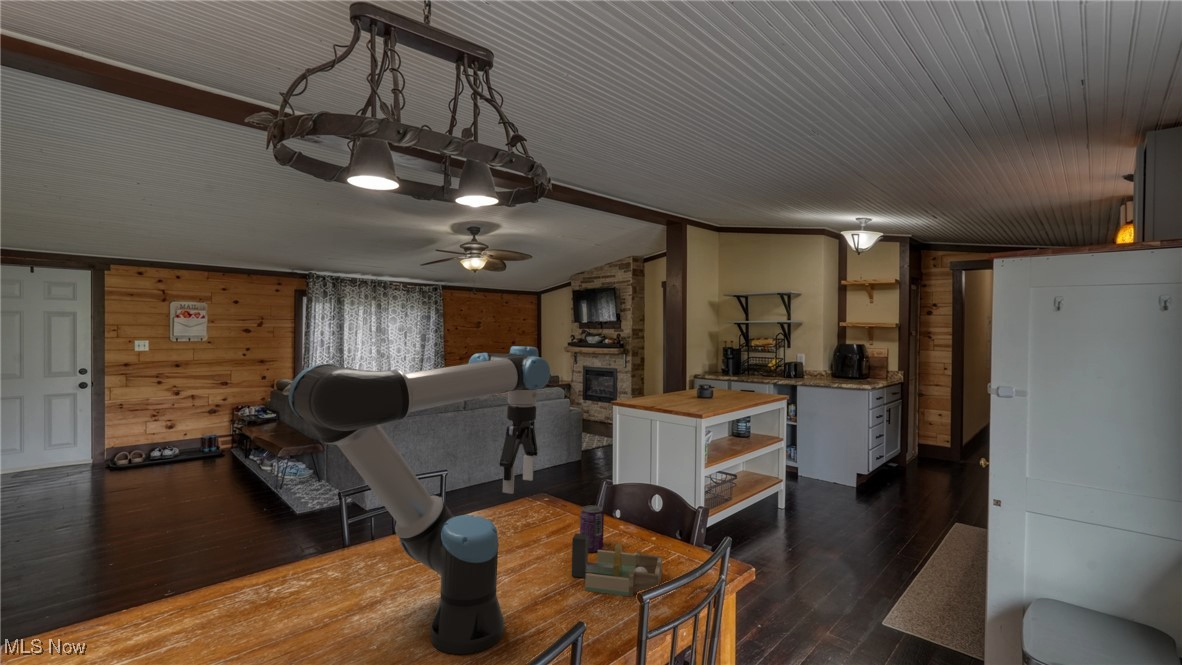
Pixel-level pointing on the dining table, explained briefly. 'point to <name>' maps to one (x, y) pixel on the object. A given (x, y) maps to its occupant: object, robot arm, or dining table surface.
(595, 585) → the pitch
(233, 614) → the dining table surface
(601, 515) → the beverage can
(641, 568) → the ball
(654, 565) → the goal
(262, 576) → the dining table surface
